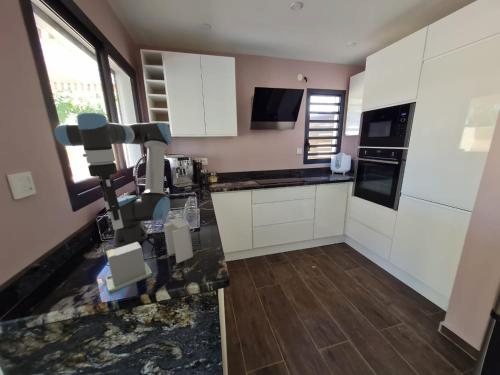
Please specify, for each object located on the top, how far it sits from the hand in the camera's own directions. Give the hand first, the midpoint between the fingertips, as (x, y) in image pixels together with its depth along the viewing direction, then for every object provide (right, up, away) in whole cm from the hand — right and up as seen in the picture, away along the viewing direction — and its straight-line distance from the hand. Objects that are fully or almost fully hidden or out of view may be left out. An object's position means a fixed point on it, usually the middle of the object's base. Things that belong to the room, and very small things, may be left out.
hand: (115, 222), depth 70 cm
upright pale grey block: (+3, -21, +3) cm, 21 cm away
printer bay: (+17, -17, +17) cm, 30 cm away
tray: (+3, -21, +3) cm, 22 cm away
